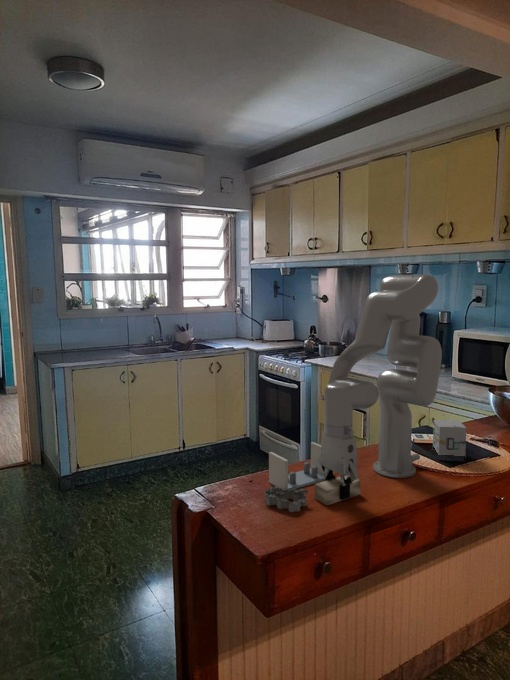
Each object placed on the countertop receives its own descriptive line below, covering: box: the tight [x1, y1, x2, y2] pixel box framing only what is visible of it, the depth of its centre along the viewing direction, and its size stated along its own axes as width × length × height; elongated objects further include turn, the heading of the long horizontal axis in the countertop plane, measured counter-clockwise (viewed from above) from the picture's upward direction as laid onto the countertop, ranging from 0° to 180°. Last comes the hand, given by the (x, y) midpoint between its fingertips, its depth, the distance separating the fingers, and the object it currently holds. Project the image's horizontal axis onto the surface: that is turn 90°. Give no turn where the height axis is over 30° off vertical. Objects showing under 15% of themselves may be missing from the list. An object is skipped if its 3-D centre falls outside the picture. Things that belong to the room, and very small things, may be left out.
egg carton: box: [262, 485, 309, 513], centre depth 124 cm, size 11×8×4 cm
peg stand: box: [268, 441, 326, 490], centre depth 138 cm, size 17×8×9 cm, turn 122°
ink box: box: [432, 419, 467, 457], centre depth 156 cm, size 8×8×12 cm
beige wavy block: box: [313, 476, 361, 506], centre depth 128 cm, size 12×5×4 cm, turn 122°
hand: (337, 493), depth 128 cm, fingers closed on beige wavy block, 5 cm apart
